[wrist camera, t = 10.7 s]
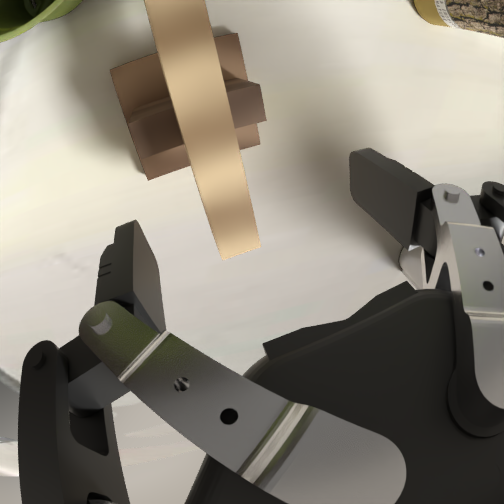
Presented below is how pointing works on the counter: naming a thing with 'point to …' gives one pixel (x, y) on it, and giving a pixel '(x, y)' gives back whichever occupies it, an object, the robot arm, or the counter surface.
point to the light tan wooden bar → (204, 119)
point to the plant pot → (30, 14)
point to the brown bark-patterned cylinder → (465, 14)
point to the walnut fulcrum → (162, 112)
